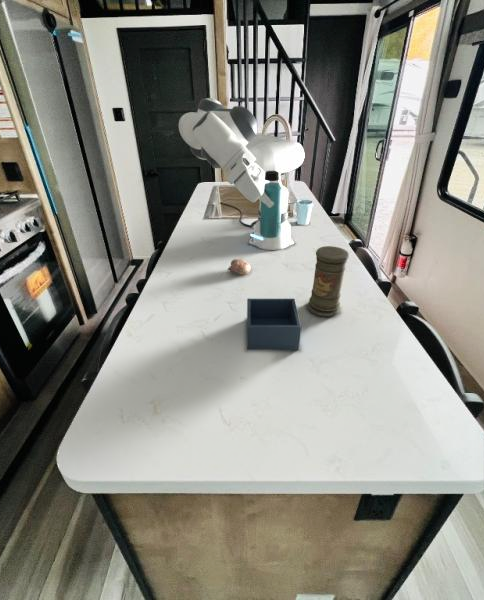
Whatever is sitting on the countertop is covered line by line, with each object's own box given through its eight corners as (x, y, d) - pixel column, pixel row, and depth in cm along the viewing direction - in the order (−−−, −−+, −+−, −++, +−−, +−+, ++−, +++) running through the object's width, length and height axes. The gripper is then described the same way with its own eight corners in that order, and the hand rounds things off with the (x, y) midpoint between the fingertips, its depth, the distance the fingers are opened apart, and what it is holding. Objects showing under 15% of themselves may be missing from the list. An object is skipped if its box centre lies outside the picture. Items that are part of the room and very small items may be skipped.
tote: (247, 319, 89) (247, 298, 85) (292, 319, 89) (294, 298, 85) (247, 349, 78) (247, 327, 75) (298, 350, 78) (301, 327, 74)
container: (318, 297, 99) (327, 242, 89) (344, 308, 93) (356, 251, 84) (301, 308, 94) (308, 251, 84) (328, 321, 88) (338, 262, 78)
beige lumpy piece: (226, 277, 110) (248, 273, 108) (223, 260, 109) (245, 255, 107) (232, 277, 117) (253, 273, 115) (229, 261, 117) (250, 256, 115)
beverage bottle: (278, 243, 97) (283, 174, 85) (257, 242, 98) (258, 173, 87) (281, 235, 102) (285, 169, 91) (260, 233, 103) (262, 168, 92)
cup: (300, 226, 152) (302, 205, 147) (291, 222, 158) (293, 201, 153) (313, 224, 155) (316, 202, 149) (304, 220, 161) (306, 199, 155)
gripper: (240, 167, 100) (269, 200, 104) (224, 181, 83) (260, 220, 87) (254, 152, 97) (284, 186, 101) (241, 163, 80) (278, 204, 84)
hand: (273, 202), depth 94 cm, fingers closed on beverage bottle, 5 cm apart
